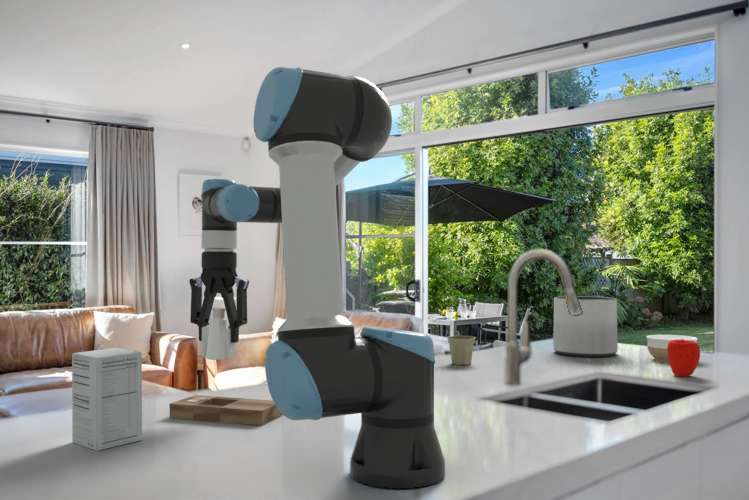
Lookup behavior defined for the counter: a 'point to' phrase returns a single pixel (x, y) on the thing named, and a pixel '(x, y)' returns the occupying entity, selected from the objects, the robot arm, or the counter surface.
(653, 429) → the counter surface
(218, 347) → the pepper shaker
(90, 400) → the supplement box
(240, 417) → the brown flat tray
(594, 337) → the planter
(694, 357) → the apple
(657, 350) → the bowl
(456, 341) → the flower pot
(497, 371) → the counter surface
